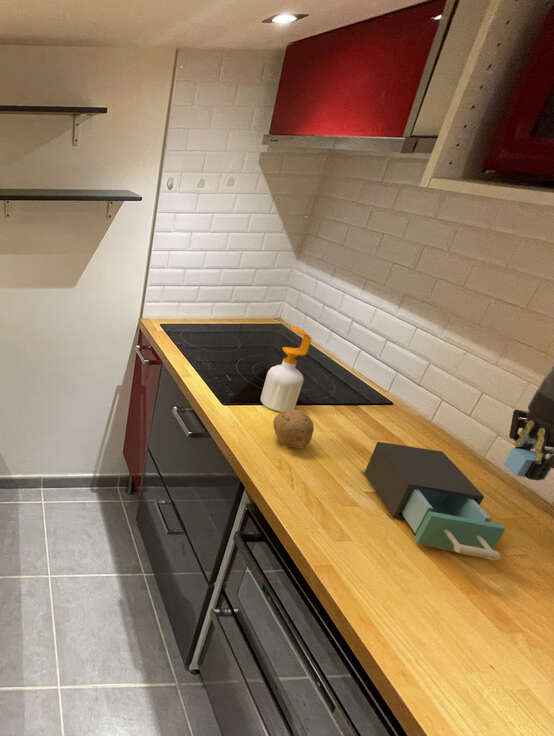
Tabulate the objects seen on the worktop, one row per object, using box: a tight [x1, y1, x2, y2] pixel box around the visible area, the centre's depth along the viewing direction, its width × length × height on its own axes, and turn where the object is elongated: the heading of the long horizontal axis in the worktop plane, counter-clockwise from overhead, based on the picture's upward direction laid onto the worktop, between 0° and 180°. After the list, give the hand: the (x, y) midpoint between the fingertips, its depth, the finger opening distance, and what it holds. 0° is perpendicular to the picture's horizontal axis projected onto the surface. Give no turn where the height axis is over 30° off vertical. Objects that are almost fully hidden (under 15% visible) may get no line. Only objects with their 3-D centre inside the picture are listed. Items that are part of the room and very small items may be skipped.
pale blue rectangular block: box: [503, 447, 552, 481], centre depth 86 cm, size 4×4×4 cm
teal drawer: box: [401, 488, 506, 561], centre depth 87 cm, size 18×11×7 cm, turn 165°
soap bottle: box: [260, 325, 312, 413], centre depth 127 cm, size 9×9×25 cm
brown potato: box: [273, 409, 315, 449], centre depth 113 cm, size 9×9×10 cm
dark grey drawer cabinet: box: [363, 441, 485, 521], centre depth 96 cm, size 14×13×9 cm
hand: (524, 471), depth 87 cm, fingers closed on pale blue rectangular block, 3 cm apart
